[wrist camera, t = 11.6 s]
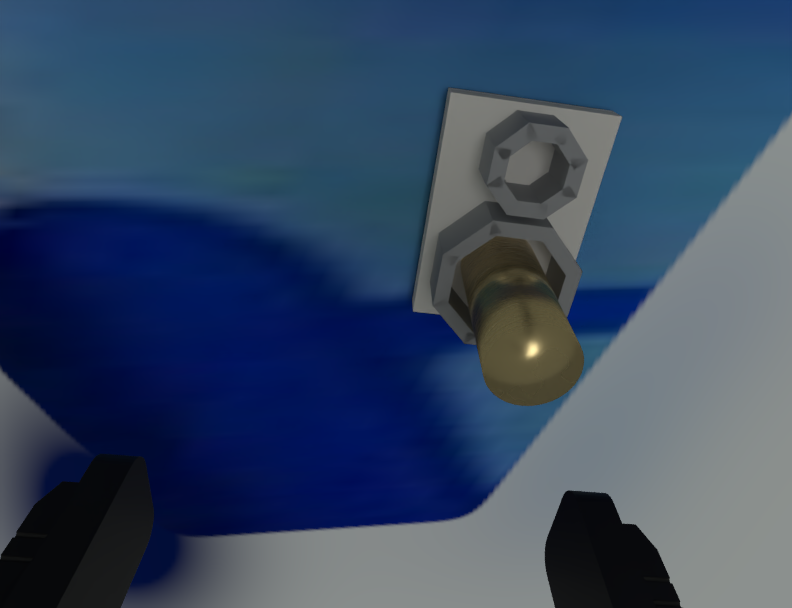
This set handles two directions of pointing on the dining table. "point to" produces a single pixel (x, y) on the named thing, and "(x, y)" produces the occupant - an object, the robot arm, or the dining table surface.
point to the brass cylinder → (519, 324)
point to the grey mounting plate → (509, 192)
